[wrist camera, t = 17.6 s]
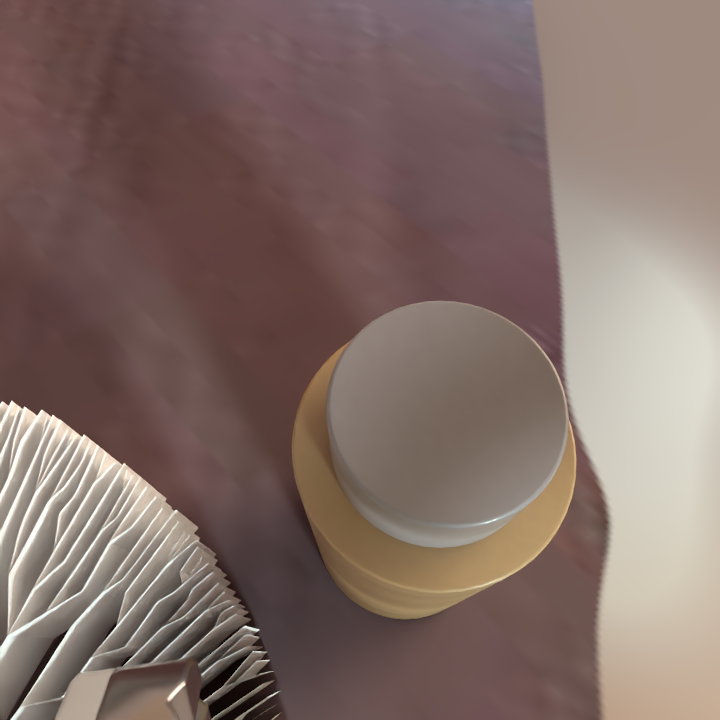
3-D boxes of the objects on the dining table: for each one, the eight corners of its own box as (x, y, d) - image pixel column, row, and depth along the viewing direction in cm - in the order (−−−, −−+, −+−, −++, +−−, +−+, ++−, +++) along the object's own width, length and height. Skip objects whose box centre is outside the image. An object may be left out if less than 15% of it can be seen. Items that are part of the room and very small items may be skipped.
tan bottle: (284, 512, 20) (215, 376, 10) (413, 415, 22) (461, 215, 12) (389, 659, 19) (429, 666, 9) (523, 543, 20) (688, 433, 10)
